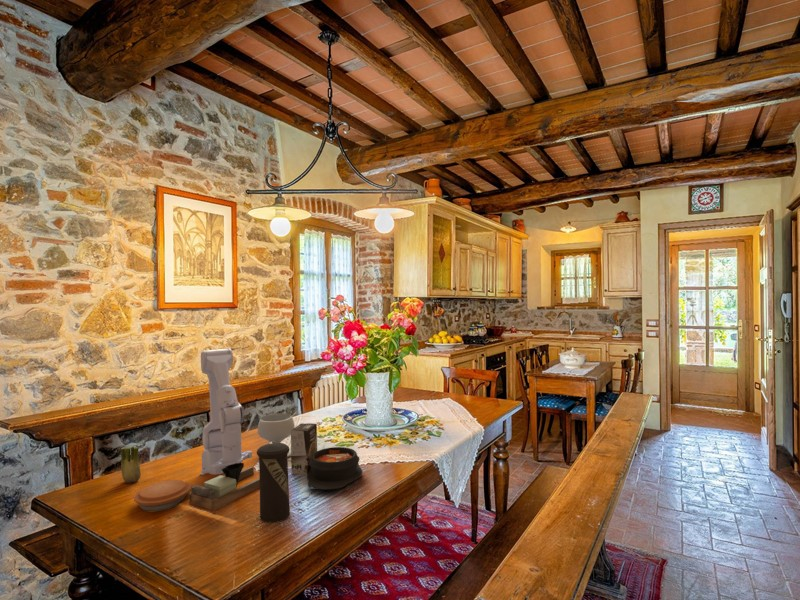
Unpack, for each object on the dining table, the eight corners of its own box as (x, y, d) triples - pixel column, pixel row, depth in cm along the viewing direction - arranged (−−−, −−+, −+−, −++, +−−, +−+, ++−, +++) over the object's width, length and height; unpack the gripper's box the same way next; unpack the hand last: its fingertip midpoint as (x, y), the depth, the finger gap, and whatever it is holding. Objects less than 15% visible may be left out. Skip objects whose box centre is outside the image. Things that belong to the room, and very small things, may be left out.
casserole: (320, 463, 164) (319, 441, 164) (369, 465, 161) (368, 442, 161) (294, 494, 139) (294, 467, 139) (352, 496, 137) (351, 469, 137)
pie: (160, 519, 126) (160, 501, 126) (121, 511, 131) (121, 494, 131) (202, 495, 140) (202, 479, 140) (165, 489, 146) (165, 473, 145)
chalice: (250, 458, 171) (249, 419, 171) (277, 447, 183) (276, 410, 183) (275, 464, 164) (274, 424, 164) (302, 452, 176) (301, 415, 176)
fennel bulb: (119, 482, 151) (118, 447, 151) (133, 477, 155) (132, 443, 155) (129, 485, 148) (128, 450, 148) (143, 480, 153) (142, 445, 153)
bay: (187, 507, 132) (186, 485, 132) (251, 476, 154) (250, 457, 154) (213, 515, 127) (212, 492, 127) (275, 482, 149) (274, 463, 149)
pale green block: (203, 498, 135) (203, 482, 135) (220, 490, 140) (220, 475, 140) (220, 503, 132) (219, 487, 131) (236, 495, 137) (236, 479, 137)
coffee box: (308, 477, 152) (307, 430, 151) (290, 476, 153) (289, 430, 153) (318, 467, 160) (317, 423, 160) (301, 466, 162) (300, 422, 162)
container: (274, 526, 120) (272, 453, 120) (251, 518, 125) (249, 447, 124) (297, 513, 127) (295, 443, 127) (275, 505, 132) (273, 438, 132)
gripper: (221, 453, 132) (222, 499, 132) (258, 439, 144) (259, 480, 145) (205, 450, 135) (206, 494, 135) (243, 436, 148) (244, 477, 148)
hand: (233, 487), depth 140 cm, fingers closed
